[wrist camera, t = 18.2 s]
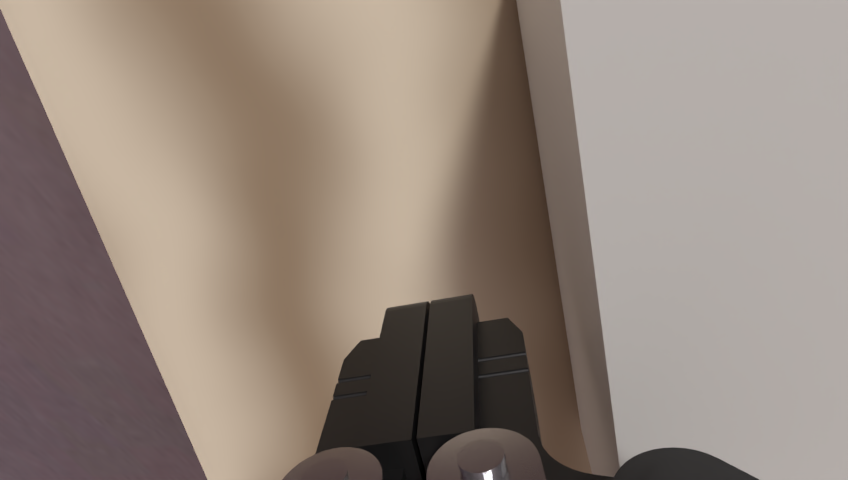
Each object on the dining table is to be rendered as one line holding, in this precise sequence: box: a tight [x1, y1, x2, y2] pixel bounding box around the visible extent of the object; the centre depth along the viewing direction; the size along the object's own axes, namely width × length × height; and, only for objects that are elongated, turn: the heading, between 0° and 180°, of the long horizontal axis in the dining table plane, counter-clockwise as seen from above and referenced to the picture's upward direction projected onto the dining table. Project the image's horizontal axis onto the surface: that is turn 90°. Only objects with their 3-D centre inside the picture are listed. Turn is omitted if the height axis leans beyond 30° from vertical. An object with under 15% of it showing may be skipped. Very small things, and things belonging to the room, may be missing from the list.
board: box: [0, 0, 592, 480], centre depth 14 cm, size 20×15×6 cm
